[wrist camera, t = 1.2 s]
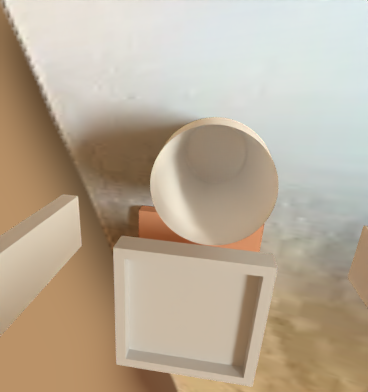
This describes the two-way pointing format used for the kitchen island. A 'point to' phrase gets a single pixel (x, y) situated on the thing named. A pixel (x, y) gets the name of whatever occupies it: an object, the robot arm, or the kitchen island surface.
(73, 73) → the kitchen island surface
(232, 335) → the stand
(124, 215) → the kitchen island surface
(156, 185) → the cup
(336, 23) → the kitchen island surface
